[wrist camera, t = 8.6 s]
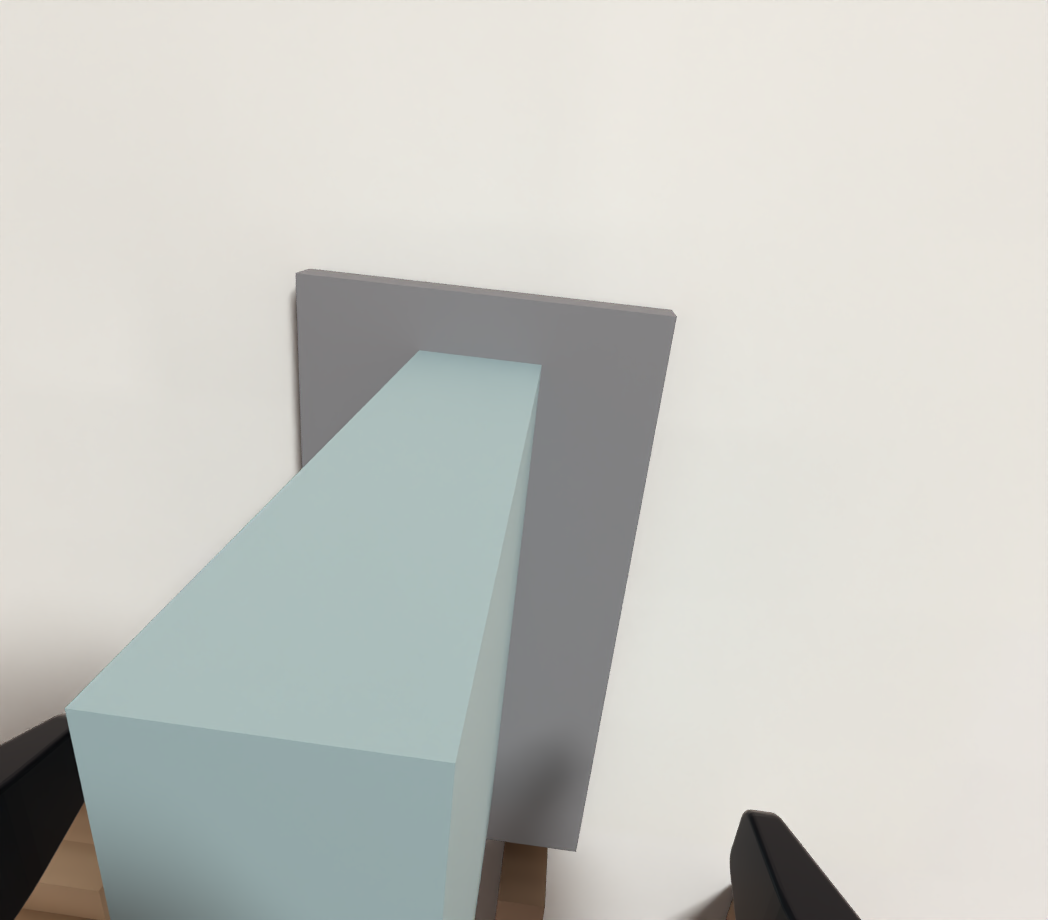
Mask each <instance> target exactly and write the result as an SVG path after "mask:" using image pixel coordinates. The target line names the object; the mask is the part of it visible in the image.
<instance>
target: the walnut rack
mask: <svg viewBox="0 0 1048 920" xmlns="http://www.w3.org/2000/svg"><path fill="white" fill-rule="evenodd" d="M547 850H548V848H547V847H540V846H533V845H526V844H519V843H512V842H505V845H504V853H503V861H502V869H501V877H500V885H499V893H498V900H497V908H496V916H495V920H543V914H544V908H545V890H546V870H547ZM726 920H735V911H734V902H733V900H732V903H731V906H730V909H729V912H728V915H727V918H726Z"/></svg>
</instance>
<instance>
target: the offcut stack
mask: <svg viewBox="0 0 1048 920" xmlns="http://www.w3.org/2000/svg"><path fill="white" fill-rule="evenodd" d="M14 920H110V915H109V911H108V906H107V901H106V897H105V892H104V888H103V883H102V878H101V874H100V869H99V864H98V860H97V855H96V851H95V846H94V841H93V837H92V832H91V828H90V823H89V818H88V814H87V809H86V804H85V802H84V804H83V806H82V807H81V809H80V811H79V813H78V814H77V816H76V818H75V820H74V821H73V823H72V825H71V827H70V829H69V830H68V832H67V834H66V836H65V837H64V839H63V841H62V843H61V844H60V846H59V848H58V850H57V851H56V853H55V855H54V857H53V858H52V860H51V862H50V864H49V865H48V867H47V869H46V871H45V872H44V874H43V876H42V877H41V879H40V881H39V882H38V884H37V886H36V887H35V889H34V891H33V892H32V894H31V895H30V897H29V898H28V900H27V901H26V903H25V905H24V906H23V908H22V909H21V911H20V912H19V914H18V915H17V916H16V918H15V919H14Z"/></svg>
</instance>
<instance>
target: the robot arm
mask: <svg viewBox="0 0 1048 920" xmlns="http://www.w3.org/2000/svg"><path fill="white" fill-rule="evenodd" d="M84 802H85V800H84V795H83V791H82V786H81V781H80V777H79V772H78V767H77V763H76V758H75V754H74V749H73V744H72V740H71V735H70V731H69V726H68V721H67V717H66V714H61V715H57V716H55V717H53V718H51V719H49V720H47V721H45V722H43V723H41V724H40V725H38V726H36V727H34V728H32V729H30V730H28V731H26V732H24V733H22V734H21V735H19V736H17V737H15V738H13V739H11V740H9V741H7V742H5V743H3V744H2V745H0V920H14V919H15V918H16V916H17V915H18V914H19V912H20V911H21V909H22V908H23V906H24V905H25V903H26V901H27V900H28V898H29V897H30V895H31V894H32V892H33V891H34V889H35V887H36V886H37V884H38V882H39V881H40V879H41V877H42V876H43V874H44V872H45V871H46V869H47V867H48V865H49V864H50V862H51V860H52V858H53V857H54V855H55V853H56V851H57V850H58V848H59V846H60V844H61V843H62V841H63V839H64V837H65V836H66V834H67V832H68V830H69V829H70V827H71V825H72V823H73V821H74V820H75V818H76V816H77V814H78V813H79V811H80V809H81V807H82V806H83V804H84ZM730 874H731V883H732V893H733V902H734V911H735V920H861V919H860V918H859V916H858V915H857V914H856V913H855V911H854V910H853V909H852V908H851V906H850V905H849V904H848V903H847V901H846V900H845V899H844V897H843V896H842V895H841V894H840V892H839V891H838V890H837V889H836V887H835V886H834V885H833V884H832V882H831V881H830V880H829V879H828V877H827V876H826V875H825V873H824V872H823V871H822V870H821V868H820V867H819V866H818V865H817V863H816V862H815V861H814V860H813V858H812V857H811V856H810V855H809V853H808V852H807V851H806V849H805V848H804V847H803V846H802V844H801V843H800V842H799V841H798V839H797V838H796V837H795V836H794V834H793V833H792V832H791V831H790V829H789V828H788V827H787V825H786V824H785V823H784V822H783V820H782V819H781V818H780V817H779V816H777V815H776V814H774V813H771V812H764V811H757V810H746V811H745V812H744V813H743V815H742V817H741V821H740V824H739V827H738V830H737V833H736V836H735V839H734V842H733V846H732V849H731V853H730Z"/></svg>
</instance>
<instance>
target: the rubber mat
mask: <svg viewBox="0 0 1048 920" xmlns="http://www.w3.org/2000/svg"><path fill="white" fill-rule="evenodd" d="M296 299H297V329H298V359H299V389H300V419H301V449H302V468H303V467H304V466H305V465H306V464H307V463H308V462H309V461H310V460H311V459H312V458H313V457H314V456H315V455H316V454H317V453H318V452H319V451H320V450H321V449H322V448H323V447H324V446H325V445H326V444H327V443H328V442H329V441H330V440H331V439H332V438H333V437H334V436H335V435H336V434H337V433H338V432H339V431H340V430H341V429H342V428H343V427H344V426H345V425H346V424H347V423H348V422H349V421H350V420H351V419H352V418H353V417H354V416H355V415H356V414H357V413H358V412H359V411H360V410H361V409H362V408H363V407H364V406H365V405H366V404H367V403H368V402H369V401H370V400H371V399H372V398H373V397H374V396H375V395H376V394H377V393H378V392H379V391H380V390H381V388H382V387H383V386H384V385H385V384H386V383H387V382H388V381H389V380H390V379H391V378H392V377H393V376H394V375H395V374H396V373H397V372H398V371H399V370H400V369H401V368H402V367H403V366H404V365H405V364H406V363H407V362H408V361H409V360H410V359H411V358H412V357H413V356H414V355H415V354H416V353H417V352H418V351H419V350H421V351H429V352H438V353H446V354H454V355H463V356H471V357H479V358H488V359H496V360H504V361H513V362H521V363H530V364H538V365H542V367H541V375H540V384H539V393H538V401H537V410H536V419H535V427H534V436H533V445H532V453H531V462H530V471H529V480H528V488H527V497H526V506H525V514H524V523H523V532H522V540H521V549H520V558H519V567H518V575H517V584H516V593H515V601H514V610H513V619H512V627H511V636H510V645H509V654H508V662H507V671H506V680H505V688H504V697H503V706H502V714H501V723H500V732H499V740H498V749H497V758H496V767H495V775H494V784H493V793H492V801H491V810H490V816H489V823H488V830H487V837H486V839H491V840H498V841H505V842H512V843H519V844H526V845H533V846H540V847H547V848H554V849H561V850H568V851H575V852H576V848H577V843H578V838H579V833H580V827H581V822H582V817H583V811H584V806H585V801H586V795H587V790H588V785H589V779H590V774H591V769H592V764H593V758H594V753H595V748H596V742H597V737H598V732H599V726H600V721H601V716H602V710H603V705H604V700H605V695H606V689H607V684H608V679H609V673H610V668H611V663H612V657H613V652H614V647H615V641H616V636H617V631H618V626H619V620H620V615H621V610H622V604H623V599H624V594H625V588H626V583H627V578H628V572H629V567H630V562H631V557H632V551H633V546H634V541H635V535H636V530H637V525H638V519H639V514H640V509H641V503H642V498H643V493H644V488H645V482H646V477H647V472H648V466H649V461H650V456H651V450H652V445H653V440H654V434H655V429H656V424H657V418H658V413H659V408H660V403H661V397H662V392H663V387H664V381H665V376H666V371H667V365H668V360H669V355H670V349H671V344H672V339H673V334H674V328H675V323H676V318H677V316H676V315H675V314H674V312H673V311H672V310H667V309H658V308H649V307H640V306H632V305H623V304H614V303H605V302H596V301H588V300H579V299H570V298H561V297H553V296H544V295H535V294H526V293H518V292H509V291H500V290H491V289H482V288H474V287H465V286H456V285H447V284H439V283H430V282H421V281H412V280H404V279H395V278H386V277H377V276H368V275H360V274H351V273H342V272H333V271H325V270H316V269H308V270H304V271H301V272H298V273H296Z"/></svg>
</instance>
